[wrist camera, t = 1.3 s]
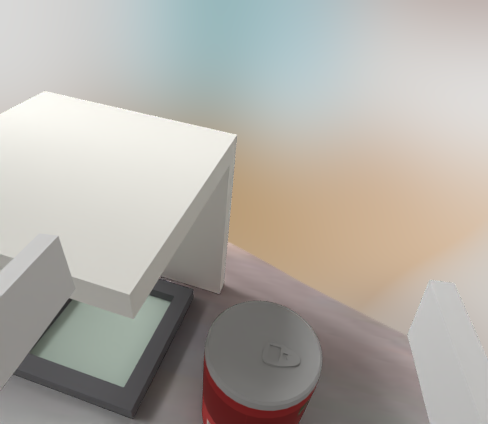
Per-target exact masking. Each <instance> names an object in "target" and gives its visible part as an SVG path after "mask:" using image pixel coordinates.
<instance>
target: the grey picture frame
mask: <svg viewBox="0 0 488 424" xmlns="http://www.w3.org/2000/svg"><path fill="white" fill-rule="evenodd" d="M192 300H193V289H191V288H187V287H184V286H181V285H177V284H174V283H171V282H168V281H164V280H161V279H158V281H157V283H156V284H155V286H154V287H153V289H152V291H151V292H150V294H149V295H148V297H147V299H146V300H145V302H144V304H143V305H142V307H141V308H140V310H139V312H138V313H137V315H136V316H135V318H134V319H131V318H128V317H125V316H122V315H119V314H116V313H113V312H110V311H107V310H104V309H101V308H98V307H95V306H91V305H88V304H85V303H82V302H79V301H76V300H73V299H70V298H69V299H68V300H67V301H66V303H65V304H64V305H63V307H62V308H61V310H60V311H59V312H58V314H57V315H56V316H55V318H54V319H53V320H52V322H51V323H50V324H49V326H48V327H47V329H46V330H45V331H44V333H43V334H42V335H41V337H40V338H39V339H38V341H37V342H36V343H35V345H34V346H33V347H32V349H31V350H30V352H29V353H28V354H27V356H26V357H25V358H24V360H23V361H22V362H21V364H20V365H19V366H18V368H17V369H16V371H15V372H14V373H13V374H14V375H17V376H20V377H22V378H25V379H28V380H30V381H33V382H36V383H38V384H41V385H44V386H46V387H49V388H52V389H54V390H57V391H60V392H62V393H65V394H68V395H70V396H73V397H76V398H78V399H81V400H84V401H86V402H89V403H92V404H94V405H97V406H100V407H102V408H105V409H108V410H110V411H113V412H116V413H118V414H121V415H124V416H126V417H129V418H132V419H133V417H134V415H135V413H136V411H137V409H138V407H139V405H140V403H141V401H142V399H143V397H144V396H145V394H146V392H147V390H148V388H149V386H150V384H151V382H152V380H153V378H154V376H155V374H156V372H157V370H158V368H159V366H160V364H161V362H162V360H163V358H164V356H165V354H166V352H167V350H168V348H169V346H170V344H171V342H172V340H173V338H174V336H175V334H176V332H177V330H178V328H179V326H180V324H181V322H182V320H183V318H184V316H185V314H186V312H187V310H188V308H189V306H190V304H191V302H192Z"/></svg>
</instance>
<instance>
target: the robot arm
mask: <svg viewBox="0 0 488 424" xmlns="http://www.w3.org/2000/svg"><path fill="white" fill-rule="evenodd" d="M75 289H76V288H75V285H74V282H73V279H72V276H71V273H70V270H69V267H68V264H67V261H66V258H65V255H64V251H63V248H62V245H61V242H60V239H59V236H57V235H49V234H40V233H39V234H38V235H37V236H36V237H35V238H34V239H33V240H32V241H31V242H30V243H29V244H28V245H27V246H26V247H25V248H24V249H23V250H22V251H21V252H20V253H19V254H18V255H17V256H16V257H15V258H14V259H13V260H11V261H10V262H9V263H8V264H7V265H6V266H5V267H4V268H3V269H2V270H1V271H0V391H1V390H2V388H3V387H4V385H5V384H6V383H7V381H8V380H9V379H10V377H11V376H12V375H13V373H14V372H15V371H16V369H17V368H18V366H19V365H20V364H21V362H22V361H23V360H24V358H25V357H26V356H27V354H28V353H29V352H30V350H31V349H32V347H33V346H34V345H35V343H36V342H37V341H38V339H39V338H40V337H41V335H42V334H43V333H44V331H45V330H46V329H47V327H48V326H49V324H50V323H51V322H52V320H53V319H54V318H55V316H56V315H57V314H58V312H59V311H60V310H61V308H62V307H63V305H64V304H65V303H66V301H67V300H68V299H69V297H70V296H71V295H72V293H73V292H74V291H75ZM407 335H408V339H409V343H410V347H411V351H412V355H413V359H414V363H415V367H416V371H417V375H418V379H419V383H420V387H421V391H422V395H423V399H424V403H425V407H426V411H427V415H428V419H429V422H430V424H488V359H487V356H486V354H485V352H484V350H483V348H482V345H481V343H480V340H479V338H478V336H477V334H476V331H475V329H474V327H473V325H472V322H471V320H470V318H469V316H468V313H467V311H466V309H465V306H464V304H463V302H462V300H461V297H460V295H459V293H458V290H457V288H456V286H455V284H454V283H451V282H442V281H434V280H429V283H428V285H427V288H426V290H425V292H424V295H423V297H422V300H421V302H420V305H419V307H418V310H417V312H416V315H415V317H414V320H413V322H412V324H411V327H410V329H409V332H408V334H407Z"/></svg>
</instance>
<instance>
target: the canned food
mask: <svg viewBox="0 0 488 424" xmlns="http://www.w3.org/2000/svg"><path fill="white" fill-rule="evenodd" d="M321 368H322V351H321V346H320V343H319V340H318V338H317V336H316V334H315V332H314V331H313V329H312V328H311V326H310V325H309V324H308V323H307V322H306V321H305V320H304V319H303V318H302V317H301V316H299V315H298V314H297V313H295V312H294V311H292V310H290V309H288V308H287V307H284V306H282V305H279V304H276V303H272V302H267V301H248V302H243V303H239V304H236V305H234V306H232V307H230V308H228V309H226V310H225V311H224V312H222V313H221V314H220V315H219V316H218V317H217V318H216V319H215V321H214V322H213V324H212V325H211V327H210V329H209V332H208V335H207V339H206V343H205V352H204V373H203V401H202V416H203V423H204V424H298V423H299V421H300V419H301V417H302V415H303V413H304V411H305V409H306V406H307V404H308V402H309V400H310V398H311V396H312V394H313V392H314V390H315V388H316V385H317V383H318V380H319V377H320V373H321Z"/></svg>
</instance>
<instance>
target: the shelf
mask: <svg viewBox="0 0 488 424" xmlns="http://www.w3.org/2000/svg"><path fill="white" fill-rule="evenodd" d="M236 142H237V135H235V134H231V133H226V132H222V131H218V130H213V129H209V128H205V127H200V126H195V125H192V124H187V123H182V122H178V121H174V120H170V119H165V118H161V117H156V116H152V115H148V114H143V113H139V112H134V111H130V110H126V109H121V108H117V107H113V106H108V105H104V104H99V103H95V102H90V101H86V100H82V99H77V98H73V97H69V96H64V95H60V94H55V93H51V92H46V91H44V92H42V93H40V94H38V95H36V96H34V97H33V98H30V99H28V100H27V101H25V102H23V103H21V104H19V105H17V106H15V107H13V108H11V109H9V110H7V111H5V112H3V113H2V114H0V271H1V270H2V269H3V268H4V267H5V266H6V265H7V264H8V263H9V262H10V261H11V260H13V259H14V258H15V257H16V256H17V255H18V254H19V253H20V252H21V251H22V250H23V249H24V248H25V247H26V246H27V245H28V244H29V243H30V242H31V241H32V240H33V239H34V238H35V237H36V236H37V235H38V234H39V233H40V234H49V235H57V236H59V239H60V242H61V245H62V248H63V251H64V255H65V258H66V261H67V264H68V267H69V270H70V273H71V276H72V279H73V282H74V285H75V288H76V289H75V291H74V292H73V293H72V295H71V296H70V297H69V298H70V299H73V300H76V301H79V302H82V303H85V304H88V305H91V306H95V307H98V308H101V309H104V310H107V311H110V312H113V313H116V314H119V315H122V316H125V317H128V318H131V319H134V318H135V316H136V315H137V313H138V312H139V310H140V308H141V307H142V305H143V304H144V302H145V300H146V299H147V297H148V295H149V294H150V292H151V291H152V289H153V287H154V286H155V284H156V283H157V281H158V279H159V278H160V276H162V277H165V278H168V279H172V280H175V281H178V282H181V283H185V284H188V285H191V286H195V287H198V288H201V289H205V290H208V291H211V292H214V293H218V294H220V292H221V289H222V287H223V285H224V277H225V266H226V254H227V243H228V230H229V221H230V209H231V198H232V187H233V175H234V164H235V153H236Z"/></svg>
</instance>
